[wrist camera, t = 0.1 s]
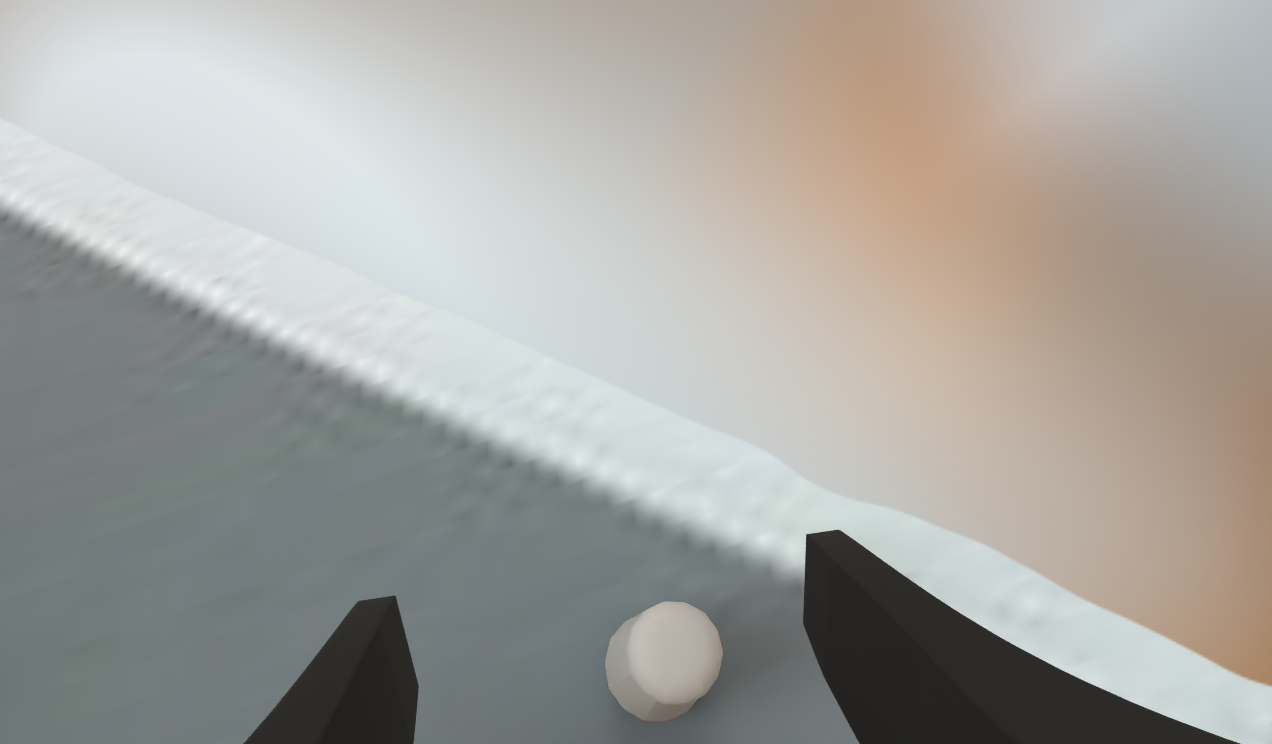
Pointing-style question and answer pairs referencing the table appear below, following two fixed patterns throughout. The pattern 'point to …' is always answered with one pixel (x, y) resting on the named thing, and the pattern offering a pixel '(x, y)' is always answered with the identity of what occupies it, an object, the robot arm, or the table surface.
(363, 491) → the table surface
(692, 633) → the salt shaker
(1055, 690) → the robot arm
